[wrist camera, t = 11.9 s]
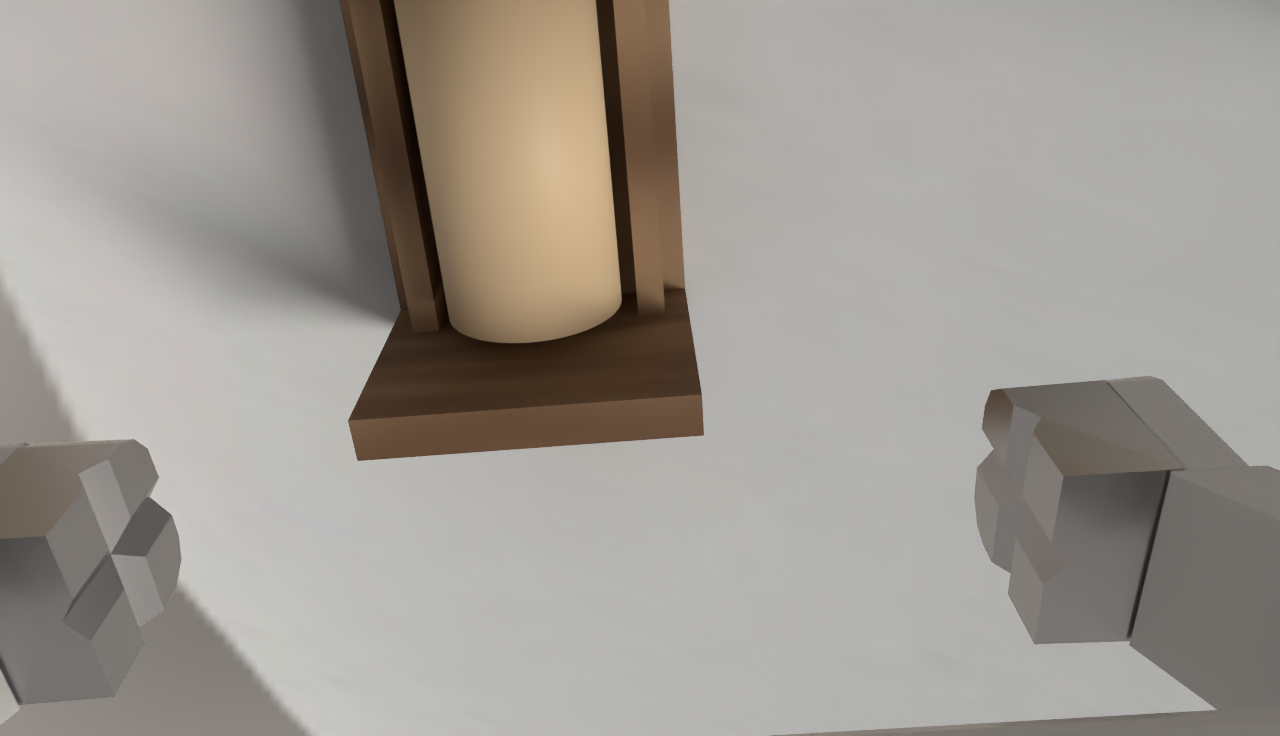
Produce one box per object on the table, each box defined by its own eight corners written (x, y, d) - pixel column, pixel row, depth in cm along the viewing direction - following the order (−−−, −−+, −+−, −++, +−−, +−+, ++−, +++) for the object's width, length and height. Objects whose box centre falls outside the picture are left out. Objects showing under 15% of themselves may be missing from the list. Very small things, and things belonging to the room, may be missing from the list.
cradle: (321, -143, 27) (214, -144, 20) (657, -171, 27) (672, -182, 19) (413, 331, 33) (357, 460, 26) (684, 310, 33) (703, 435, 26)
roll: (405, -70, 27) (360, -56, 22) (592, -85, 27) (584, -74, 22) (463, 280, 31) (435, 350, 27) (622, 269, 31) (620, 338, 27)
